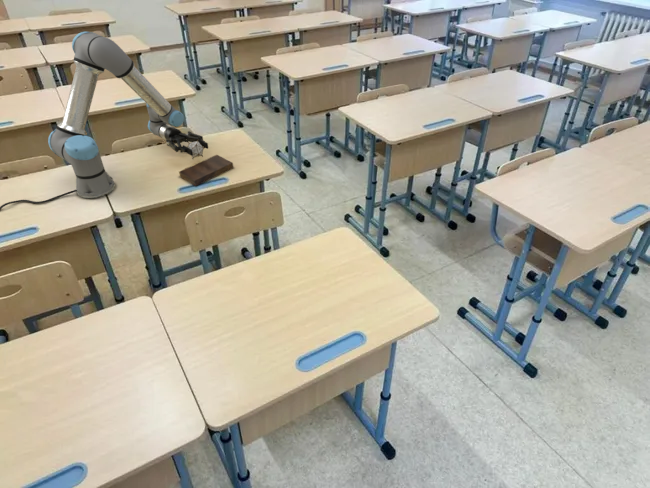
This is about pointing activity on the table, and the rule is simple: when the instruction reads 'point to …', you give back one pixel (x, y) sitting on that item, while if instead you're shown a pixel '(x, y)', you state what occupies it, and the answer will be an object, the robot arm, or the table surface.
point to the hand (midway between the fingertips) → (199, 149)
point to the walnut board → (206, 170)
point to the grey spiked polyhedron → (196, 149)
